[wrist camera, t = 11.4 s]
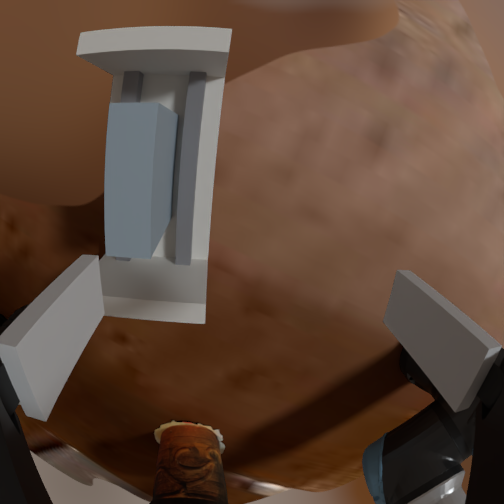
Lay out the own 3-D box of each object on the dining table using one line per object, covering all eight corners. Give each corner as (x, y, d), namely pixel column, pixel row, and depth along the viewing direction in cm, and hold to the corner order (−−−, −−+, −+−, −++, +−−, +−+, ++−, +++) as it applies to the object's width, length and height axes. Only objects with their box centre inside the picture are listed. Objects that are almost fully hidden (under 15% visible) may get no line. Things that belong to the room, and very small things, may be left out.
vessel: (234, 418, 48) (244, 522, 29) (227, 458, 53) (235, 543, 34) (149, 412, 46) (135, 515, 27) (156, 453, 51) (149, 538, 32)
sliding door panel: (171, 218, 33) (150, 259, 22) (137, 216, 33) (102, 255, 21) (179, 115, 29) (158, 102, 18) (143, 114, 29) (105, 103, 18)
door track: (207, 268, 38) (204, 323, 27) (111, 262, 36) (76, 311, 25) (226, 64, 30) (232, 29, 19) (121, 62, 28) (80, 32, 17)
